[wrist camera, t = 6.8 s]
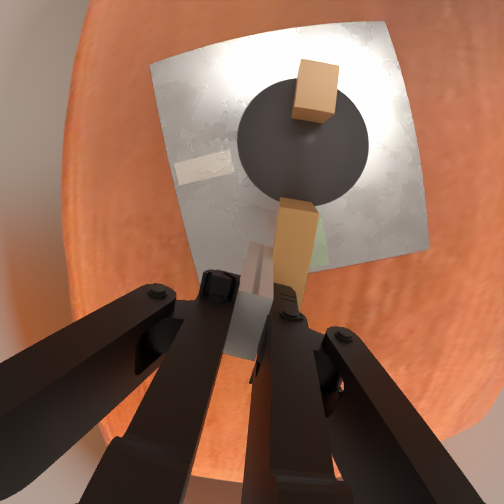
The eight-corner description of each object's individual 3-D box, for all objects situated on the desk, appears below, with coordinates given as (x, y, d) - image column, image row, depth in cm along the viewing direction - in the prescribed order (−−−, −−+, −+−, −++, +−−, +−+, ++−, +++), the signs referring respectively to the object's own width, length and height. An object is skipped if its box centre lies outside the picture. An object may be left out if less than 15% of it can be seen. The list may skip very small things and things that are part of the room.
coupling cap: (252, 84, 20) (237, 47, 12) (360, 102, 19) (399, 77, 12) (227, 274, 24) (204, 325, 16) (328, 289, 23) (346, 345, 16)
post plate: (381, 25, 22) (401, 0, 16) (424, 245, 28) (452, 265, 22) (154, 67, 25) (126, 50, 20) (204, 286, 31) (188, 314, 25)
